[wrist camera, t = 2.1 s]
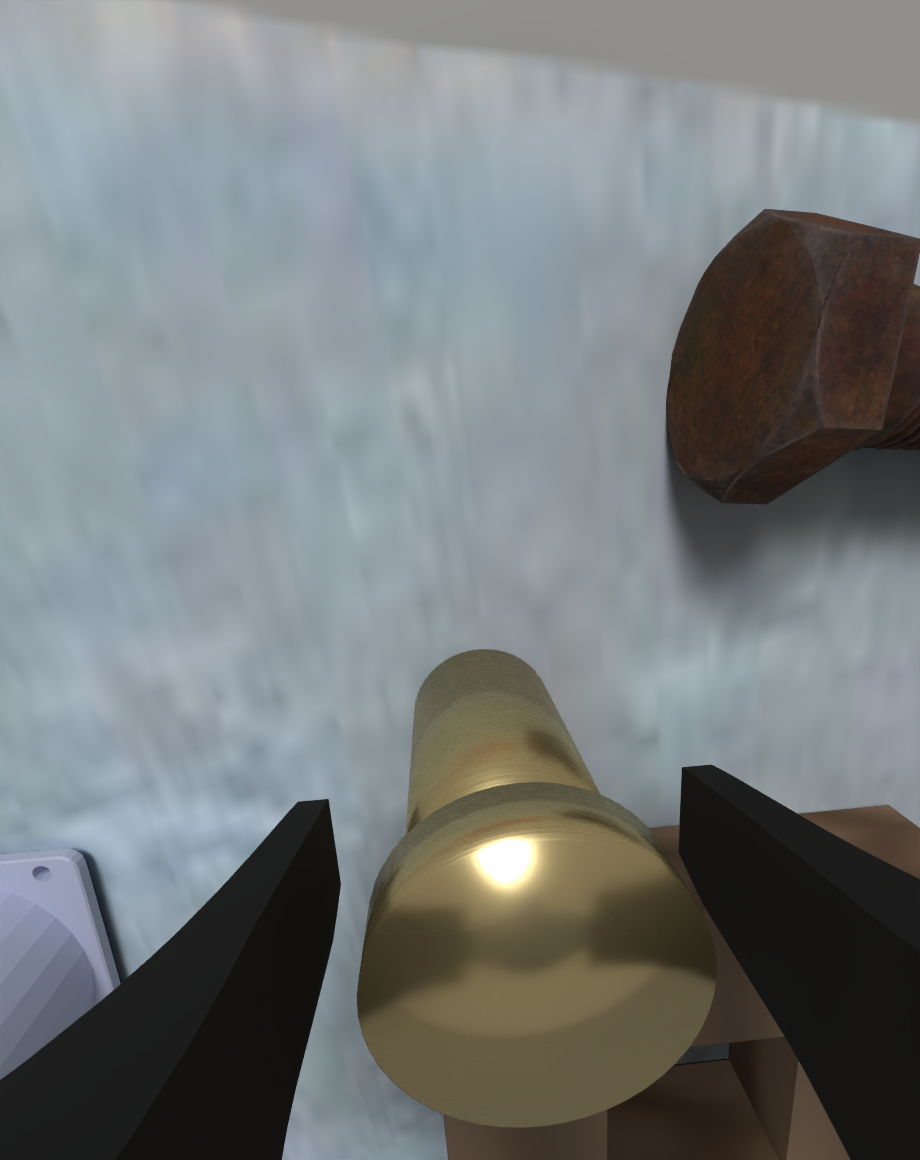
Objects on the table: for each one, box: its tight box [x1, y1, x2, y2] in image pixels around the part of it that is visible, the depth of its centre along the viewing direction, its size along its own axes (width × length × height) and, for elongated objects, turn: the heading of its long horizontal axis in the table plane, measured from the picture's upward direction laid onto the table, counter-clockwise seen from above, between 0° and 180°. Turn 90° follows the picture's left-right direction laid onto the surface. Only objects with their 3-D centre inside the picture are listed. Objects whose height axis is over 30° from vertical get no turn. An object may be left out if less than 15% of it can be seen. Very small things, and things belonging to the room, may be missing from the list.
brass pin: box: [357, 649, 717, 1128], centre depth 11 cm, size 5×5×8 cm
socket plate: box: [444, 805, 920, 1160], centre depth 16 cm, size 15×15×3 cm
